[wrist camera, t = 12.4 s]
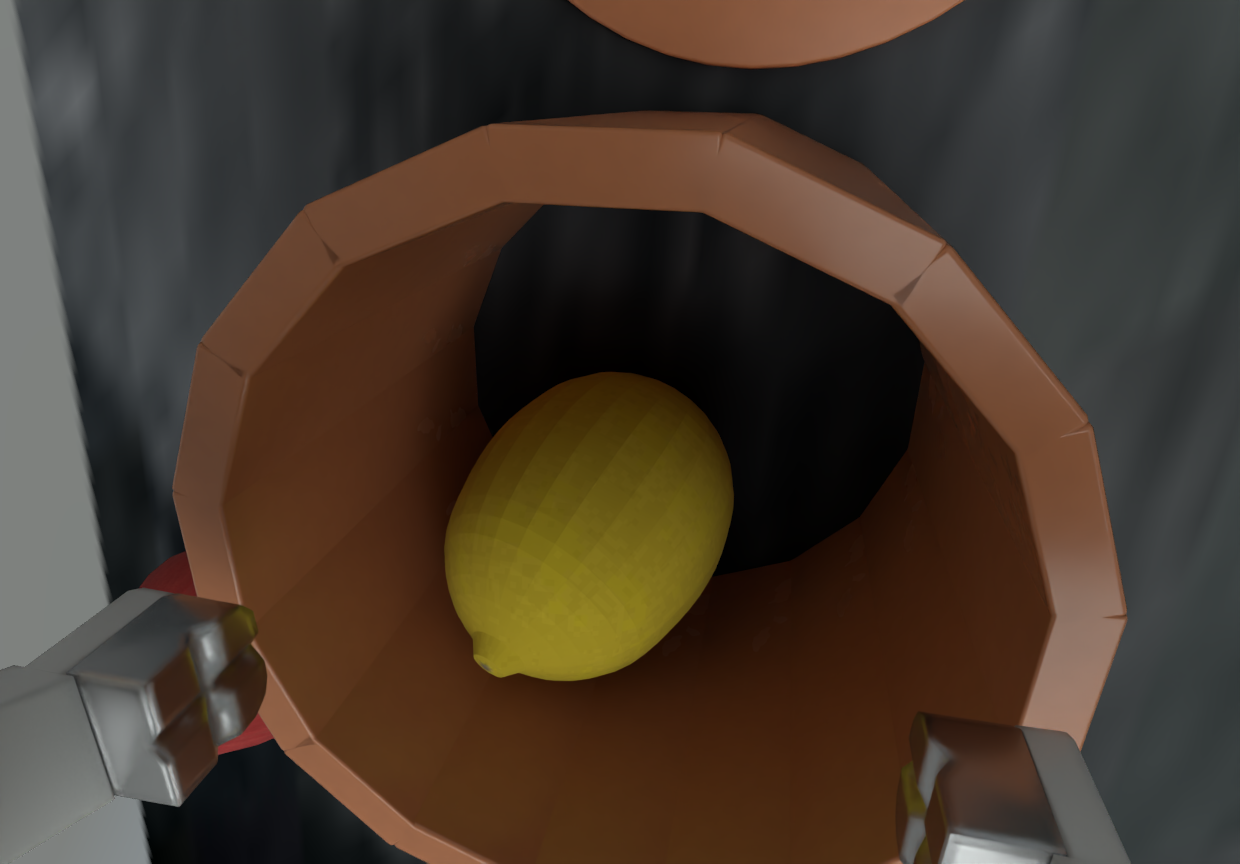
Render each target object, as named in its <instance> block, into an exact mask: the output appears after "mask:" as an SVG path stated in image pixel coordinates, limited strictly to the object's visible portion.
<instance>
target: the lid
mask: <svg viewBox="0 0 1240 864" xmlns="http://www.w3.org/2000/svg"><path fill="white" fill-rule="evenodd" d="M568 1H569V2H571V3H572V4H573V5H574V6H576V7H577V8H578V9H580V10H581V11H582V12H583V13H585V14H586V15H587V16H588V17H590V18H591V19H593V20H595V21H597V22H598V23H600V24H602V25H603V26H605V27H607V28H609V29H610V30H612V31H614V32H615V33H617V34H619V35H621V36H622V37H624V38H626V39H628V40H630V41H633V42H635V43H638V44H640V45H643V46H645V47H648V48H650V49H653V50H655V51H658V52H660V53H663V54H665V55H668V56H672V57H676V58H680V59H684V60H688V61H693V62H697V63H701V64H705V65H709V66H720V67H731V68H742V69H767V68H786V67H798V66H803V65H808V64H813V63H819V62H824V61H829V60H834V59H839V58H843V57H846V56H849V55H852V54H855V53H858V52H860V51H863V50H866V49H869V48H872V47H875V46H878V45H881V44H884V43H887V42H889V41H891V40H893V39H895V38H897V37H899V36H901V35H903V34H906V33H908V32H910V31H912V30H914V29H916V28H918V27H920V26H922V25H924V24H926V23H928V22H930V21H932V20H934V19H936V18H937V17H939V16H941V15H942V14H944V13H945V12H947V11H948V10H950V9H952V8H953V7H955V6H956V5H958V4H959V3H961V2H963V1H964V0H568Z"/></svg>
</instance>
